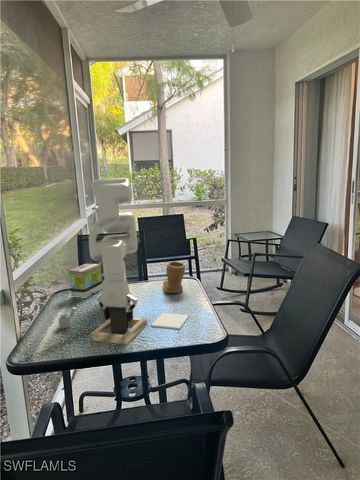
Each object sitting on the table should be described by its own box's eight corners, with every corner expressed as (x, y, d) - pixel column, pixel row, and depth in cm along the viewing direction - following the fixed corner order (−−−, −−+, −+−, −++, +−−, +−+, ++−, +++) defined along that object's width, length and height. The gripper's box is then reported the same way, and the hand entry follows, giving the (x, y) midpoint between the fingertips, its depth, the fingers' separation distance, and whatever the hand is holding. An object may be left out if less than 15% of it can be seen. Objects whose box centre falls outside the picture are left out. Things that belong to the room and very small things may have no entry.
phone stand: (127, 336, 124) (124, 306, 122) (111, 338, 123) (107, 307, 121) (128, 326, 133) (125, 297, 131) (113, 327, 132) (110, 299, 130)
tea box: (86, 299, 168) (83, 271, 165) (70, 297, 171) (67, 270, 168) (103, 289, 181) (100, 263, 179) (88, 288, 185) (85, 262, 182)
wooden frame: (91, 340, 123) (90, 333, 122) (114, 321, 139) (114, 315, 138) (126, 344, 118) (126, 338, 117) (147, 324, 133) (146, 318, 133)
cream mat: (151, 326, 131) (151, 324, 131) (162, 314, 142) (162, 313, 142) (179, 329, 127) (179, 327, 127) (189, 316, 138) (189, 315, 138)
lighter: (59, 328, 135) (57, 309, 133) (60, 326, 137) (58, 308, 135) (77, 326, 136) (75, 307, 135) (78, 324, 138) (76, 306, 136)
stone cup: (187, 293, 166) (185, 264, 163) (163, 295, 165) (161, 266, 162) (184, 284, 181) (183, 257, 178) (163, 286, 180) (161, 259, 177)
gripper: (89, 278, 123) (94, 321, 126) (130, 280, 118) (134, 325, 120) (100, 273, 130) (104, 314, 133) (139, 274, 124) (143, 317, 127)
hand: (119, 319), depth 127 cm, fingers open, 9 cm apart
